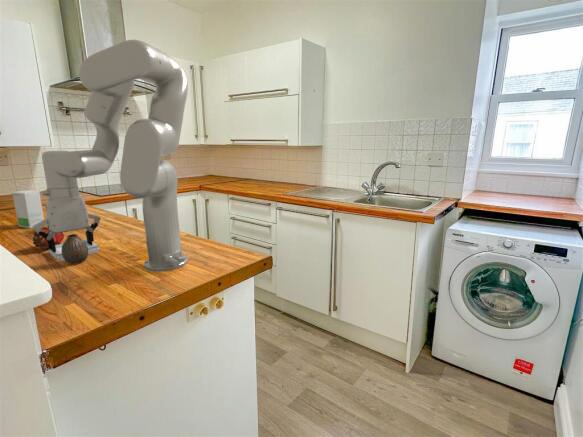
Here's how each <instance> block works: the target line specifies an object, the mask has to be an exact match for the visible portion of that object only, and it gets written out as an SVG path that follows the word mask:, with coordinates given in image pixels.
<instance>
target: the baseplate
mask: <svg viewBox="0 0 583 437" xmlns="http://www.w3.org/2000/svg"><path fill="white" fill-rule="evenodd" d="M82 240H83V241H84V242H85V243H86V244H87V247H88V255H90V254H95V253H99V252H101V250H100V247H99V245H98V244H96V243H95V242H94V241H92V244H93V245H89V244H88V243H87V238H85V239H82ZM63 244H64V243H61V244H59V245H55V247H56V252H52V251H51V249H50V250H48V253H49V254H50V255H51V256H52V257H53V258H54V259H55V260H56V261H57V262H61V261H65V260H64V258H63V256H62V252H61V250H62V246H63Z"/></svg>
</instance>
